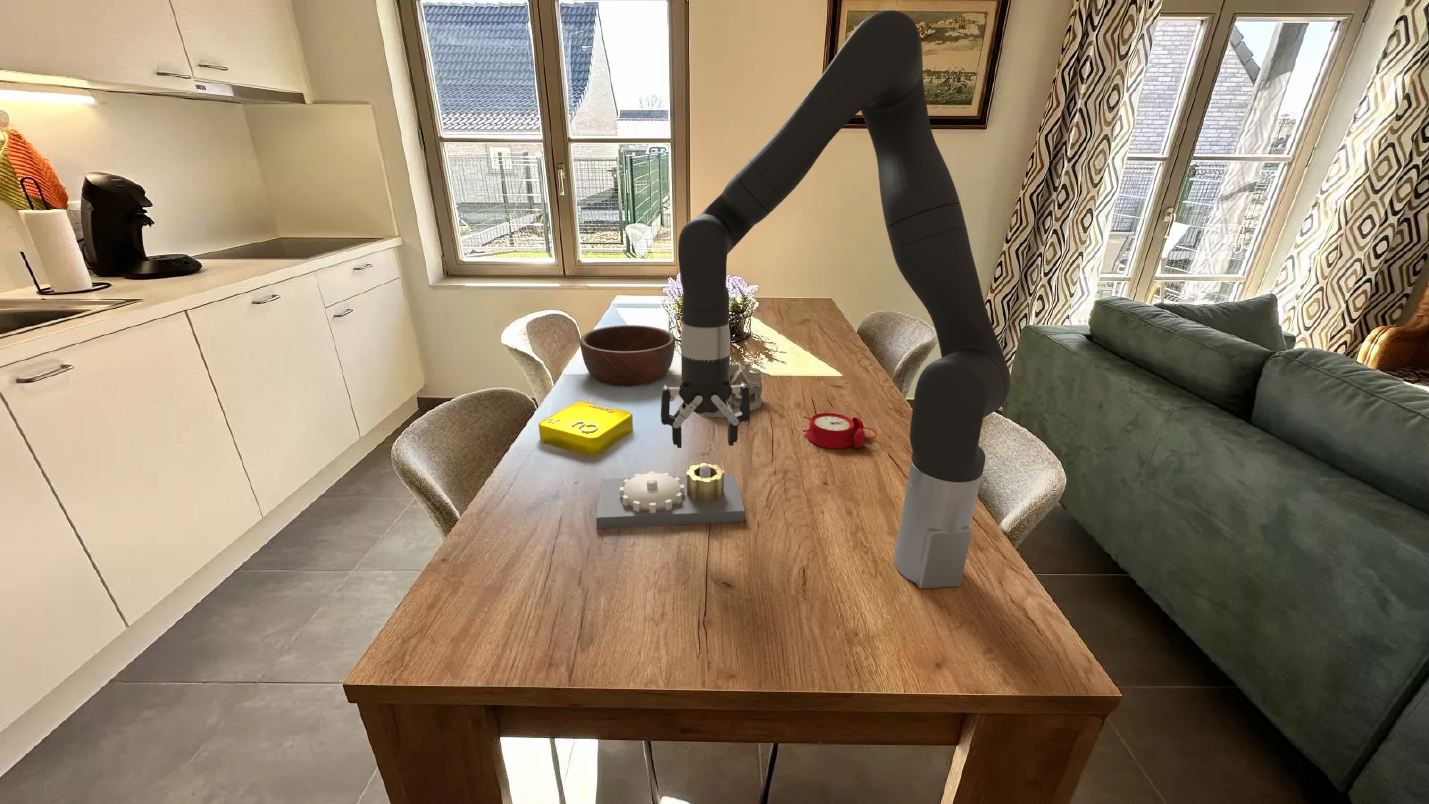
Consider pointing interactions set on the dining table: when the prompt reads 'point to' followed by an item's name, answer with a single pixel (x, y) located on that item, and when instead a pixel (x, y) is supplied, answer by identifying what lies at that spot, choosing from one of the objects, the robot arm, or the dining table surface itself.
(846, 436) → the alarm clock
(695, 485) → the brass gear
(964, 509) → the robot arm
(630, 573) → the dining table surface
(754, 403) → the ceramic cottage
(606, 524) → the gear board
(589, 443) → the element tile
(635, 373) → the wooden bowl
